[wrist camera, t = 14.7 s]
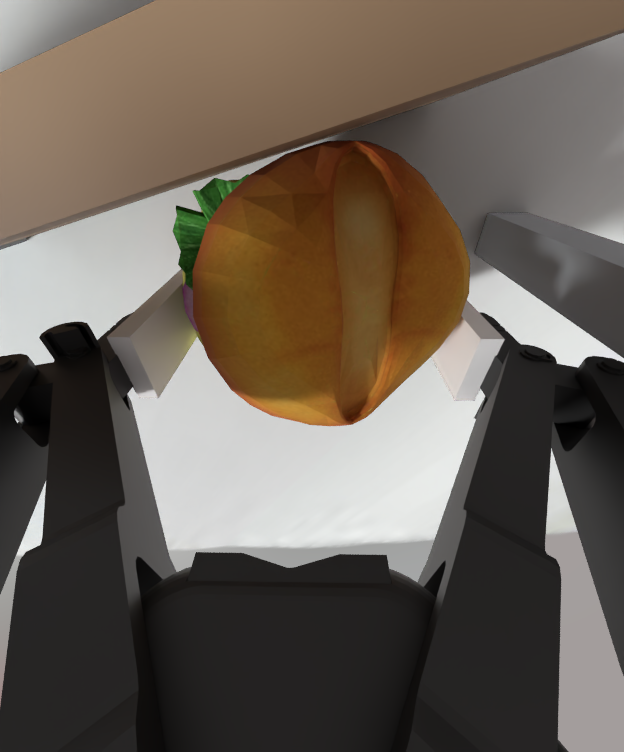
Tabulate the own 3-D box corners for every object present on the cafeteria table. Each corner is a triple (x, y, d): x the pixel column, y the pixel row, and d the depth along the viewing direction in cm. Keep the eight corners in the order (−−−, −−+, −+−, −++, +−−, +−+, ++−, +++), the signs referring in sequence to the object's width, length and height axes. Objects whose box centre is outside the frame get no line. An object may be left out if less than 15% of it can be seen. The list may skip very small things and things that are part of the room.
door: (-4, 168, 13) (-571, 209, 5) (440, -7, 10) (1156, -897, 1) (45, 231, 15) (-310, 344, 7) (438, 100, 12) (764, -20, 3)
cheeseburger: (143, 265, 14) (-18, 287, 5) (315, 128, 14) (455, -104, 5) (268, 400, 19) (294, 533, 10) (401, 302, 18) (556, 349, 9)
